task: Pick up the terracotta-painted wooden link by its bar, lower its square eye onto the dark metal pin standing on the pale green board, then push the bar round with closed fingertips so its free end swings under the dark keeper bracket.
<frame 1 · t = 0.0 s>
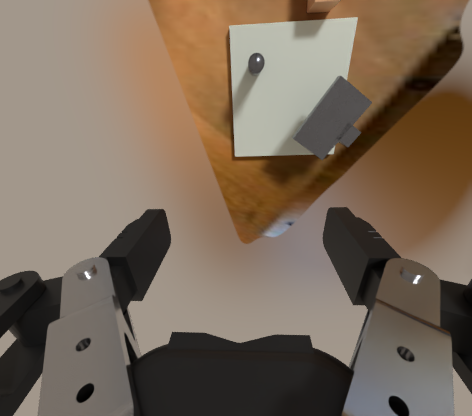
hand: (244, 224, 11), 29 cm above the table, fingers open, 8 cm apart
link: (317, 12, 29), on the table
board: (286, 97, 34), on the table
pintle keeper: (254, 68, 32), resting on board
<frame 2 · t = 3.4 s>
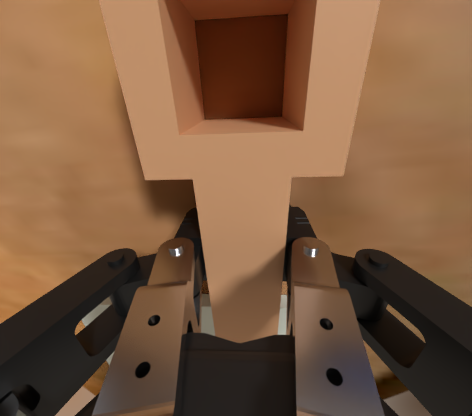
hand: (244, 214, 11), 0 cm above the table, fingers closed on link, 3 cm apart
link: (246, 284, 14), on the table, touching gripper
board: (209, 362, 19), on the table
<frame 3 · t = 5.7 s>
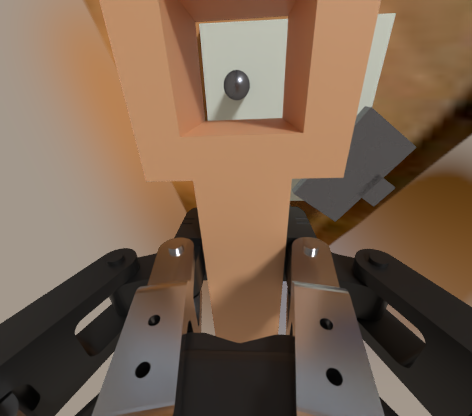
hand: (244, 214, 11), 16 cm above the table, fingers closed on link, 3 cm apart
link: (246, 284, 14), point 16 cm above the table, touching gripper
board: (284, 125, 24), on the table
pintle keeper: (239, 86, 22), resting on board
when the fingers open (2 cm above the table, at t = 8.2 s): link stays where it is, resting on board.
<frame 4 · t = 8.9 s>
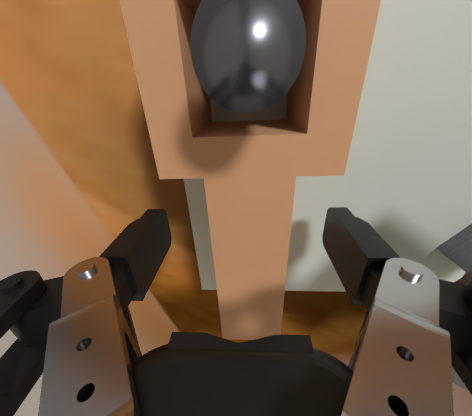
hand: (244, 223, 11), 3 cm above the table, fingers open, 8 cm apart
link: (250, 280, 15), point 1 cm above the table, touching board
board: (342, 159, 11), on the table
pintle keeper: (247, 77, 10), resting on board
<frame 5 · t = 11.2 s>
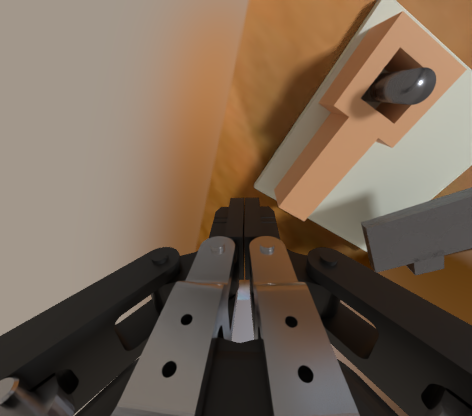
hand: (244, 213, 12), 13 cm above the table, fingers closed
link: (285, 196, 24), point 1 cm above the table, touching board
board: (370, 154, 22), on the table
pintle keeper: (363, 88, 19), resting on board
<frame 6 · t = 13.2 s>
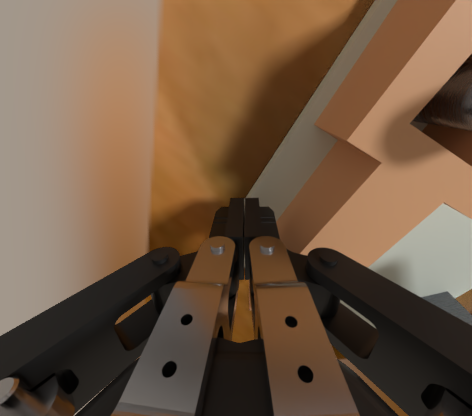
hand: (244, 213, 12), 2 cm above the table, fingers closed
link: (267, 266, 15), point 1 cm above the table, touching board, gripper
board: (401, 202, 13), on the table
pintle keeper: (395, 94, 10), resting on board
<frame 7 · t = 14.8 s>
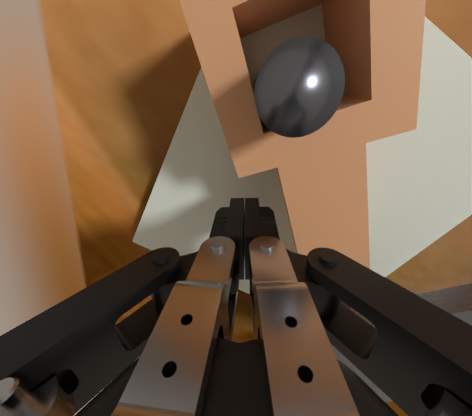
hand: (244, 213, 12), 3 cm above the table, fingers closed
link: (320, 261, 15), point 1 cm above the table, touching board, gripper, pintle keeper
board: (303, 195, 14), on the table
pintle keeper: (273, 90, 11), resting on board
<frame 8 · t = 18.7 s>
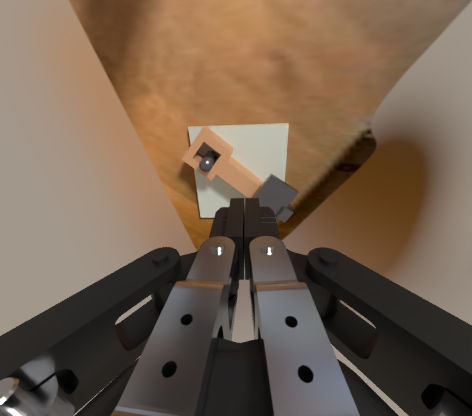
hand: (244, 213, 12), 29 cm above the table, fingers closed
link: (261, 189, 41), point 1 cm above the table, touching board, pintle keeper
board: (239, 174, 41), on the table
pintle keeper: (212, 154, 39), resting on board
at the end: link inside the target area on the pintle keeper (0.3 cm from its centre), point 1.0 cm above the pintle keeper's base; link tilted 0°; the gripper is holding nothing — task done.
